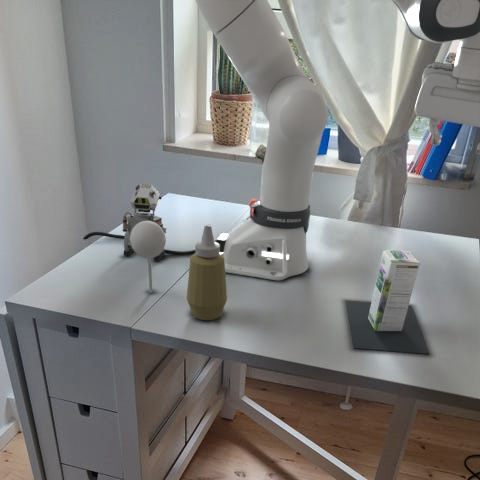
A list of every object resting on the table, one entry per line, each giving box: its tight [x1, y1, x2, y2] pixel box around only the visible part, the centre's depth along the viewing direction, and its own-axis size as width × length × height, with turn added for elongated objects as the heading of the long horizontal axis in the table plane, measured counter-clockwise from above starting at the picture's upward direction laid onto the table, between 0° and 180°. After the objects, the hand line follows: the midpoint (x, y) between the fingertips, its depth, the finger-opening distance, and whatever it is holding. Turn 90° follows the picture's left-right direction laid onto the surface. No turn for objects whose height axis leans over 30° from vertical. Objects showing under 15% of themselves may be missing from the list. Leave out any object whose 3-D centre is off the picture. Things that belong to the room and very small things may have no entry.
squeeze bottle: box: [186, 223, 228, 321], centre depth 109 cm, size 8×8×18 cm
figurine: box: [122, 183, 167, 262], centre depth 133 cm, size 9×12×15 cm
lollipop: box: [130, 221, 167, 294], centre depth 116 cm, size 7×7×15 cm
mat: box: [345, 300, 429, 355], centre depth 114 cm, size 14×20×1 cm
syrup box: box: [368, 249, 421, 331], centre depth 110 cm, size 6×6×14 cm
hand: (457, 149), depth 112 cm, fingers open, 8 cm apart
